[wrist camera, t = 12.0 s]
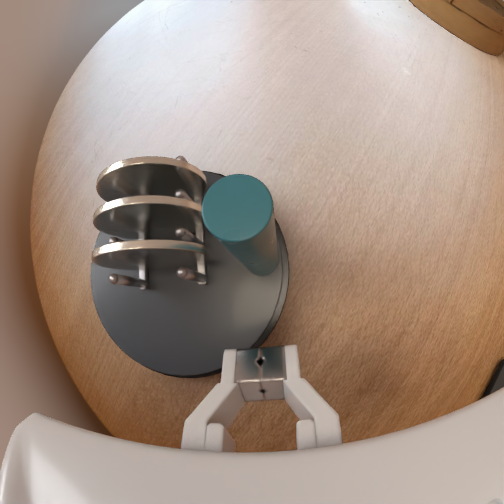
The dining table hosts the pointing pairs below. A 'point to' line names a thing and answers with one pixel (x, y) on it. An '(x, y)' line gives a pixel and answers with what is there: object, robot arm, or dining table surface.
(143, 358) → the dish rack
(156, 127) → the dining table surface
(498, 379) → the smartphone
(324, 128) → the dining table surface
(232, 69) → the dining table surface
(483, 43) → the steamer basket
